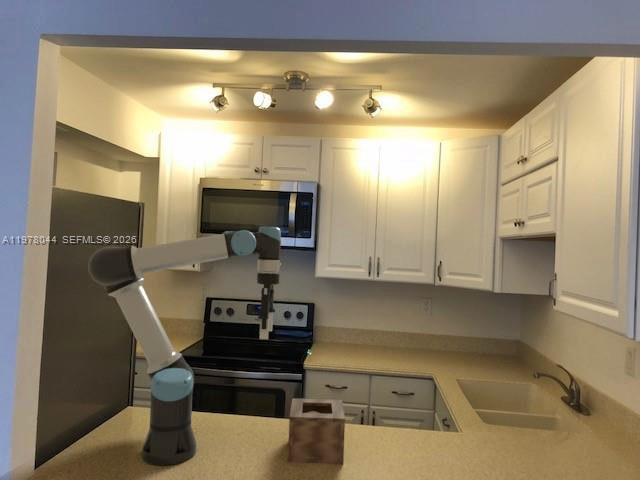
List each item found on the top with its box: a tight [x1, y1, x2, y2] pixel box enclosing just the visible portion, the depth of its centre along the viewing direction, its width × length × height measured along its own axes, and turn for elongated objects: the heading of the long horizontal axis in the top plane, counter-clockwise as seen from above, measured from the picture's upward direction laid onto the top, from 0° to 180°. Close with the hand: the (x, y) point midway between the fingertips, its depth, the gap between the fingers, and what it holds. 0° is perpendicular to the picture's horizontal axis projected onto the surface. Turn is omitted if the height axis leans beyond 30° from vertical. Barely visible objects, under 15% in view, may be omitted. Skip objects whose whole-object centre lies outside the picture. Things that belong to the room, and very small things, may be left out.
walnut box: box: [287, 397, 346, 465], centre depth 139 cm, size 16×16×13 cm
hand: (266, 335), depth 154 cm, fingers open, 13 cm apart
